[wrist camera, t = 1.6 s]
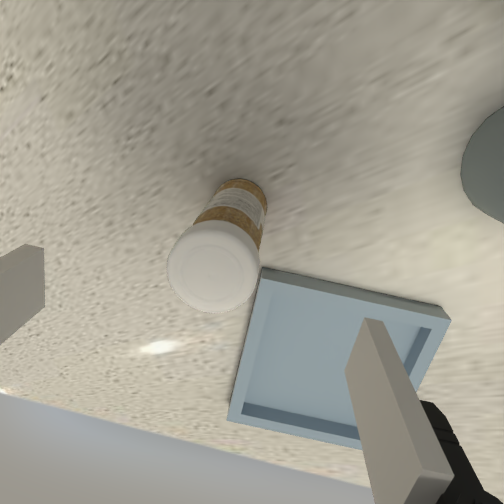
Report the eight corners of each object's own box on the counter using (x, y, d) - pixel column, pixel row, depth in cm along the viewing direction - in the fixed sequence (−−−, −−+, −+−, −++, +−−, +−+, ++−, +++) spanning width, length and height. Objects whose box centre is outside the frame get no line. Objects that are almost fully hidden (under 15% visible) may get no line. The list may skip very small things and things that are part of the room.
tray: (262, 266, 32) (261, 278, 30) (441, 306, 32) (451, 320, 30) (229, 403, 38) (226, 420, 36) (379, 436, 38) (385, 455, 36)
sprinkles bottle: (244, 241, 31) (219, 332, 19) (201, 207, 31) (145, 279, 18) (279, 201, 30) (277, 272, 17) (235, 164, 29) (200, 211, 17)
